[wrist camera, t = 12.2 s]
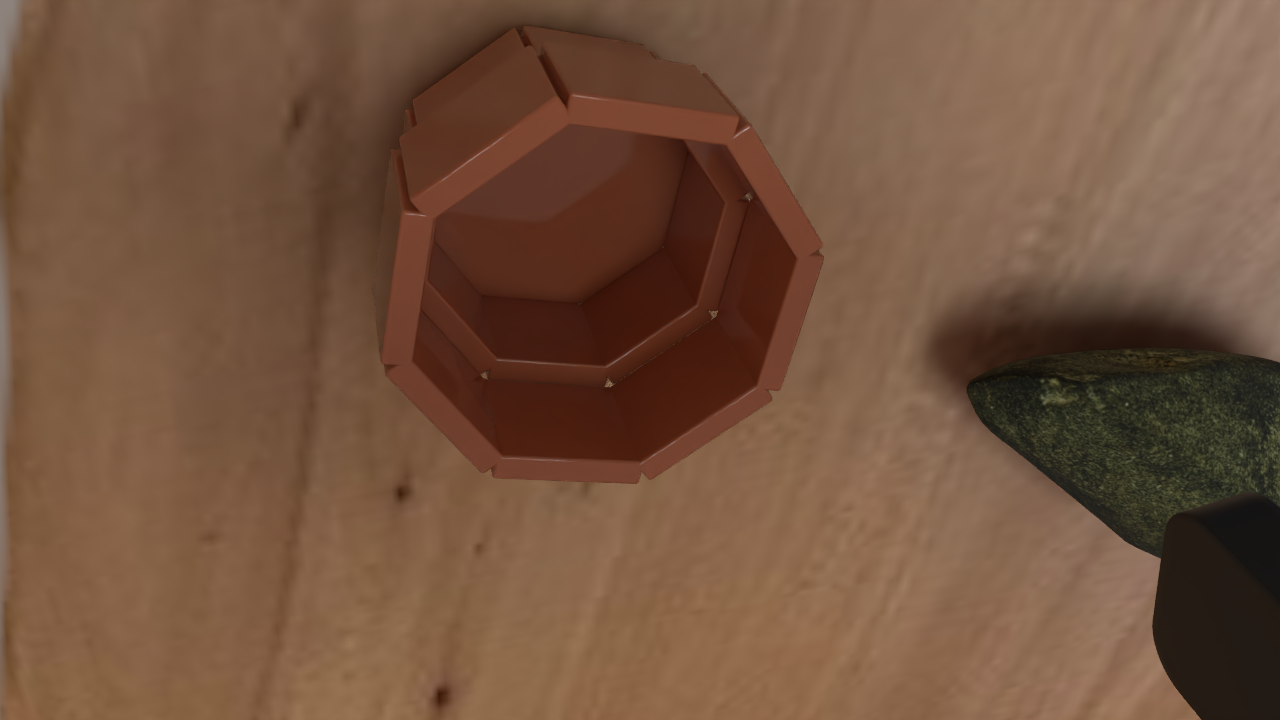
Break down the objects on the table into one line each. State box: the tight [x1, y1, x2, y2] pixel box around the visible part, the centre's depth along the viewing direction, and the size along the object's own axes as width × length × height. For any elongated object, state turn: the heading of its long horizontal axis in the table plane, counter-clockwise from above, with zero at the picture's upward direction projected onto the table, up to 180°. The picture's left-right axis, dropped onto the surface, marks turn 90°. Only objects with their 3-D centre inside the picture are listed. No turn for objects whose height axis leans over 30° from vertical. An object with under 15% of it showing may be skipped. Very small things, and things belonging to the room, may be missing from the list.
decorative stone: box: [967, 348, 1280, 558], centre depth 26 cm, size 11×8×5 cm
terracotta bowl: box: [373, 26, 824, 484], centre depth 19 cm, size 6×6×5 cm
